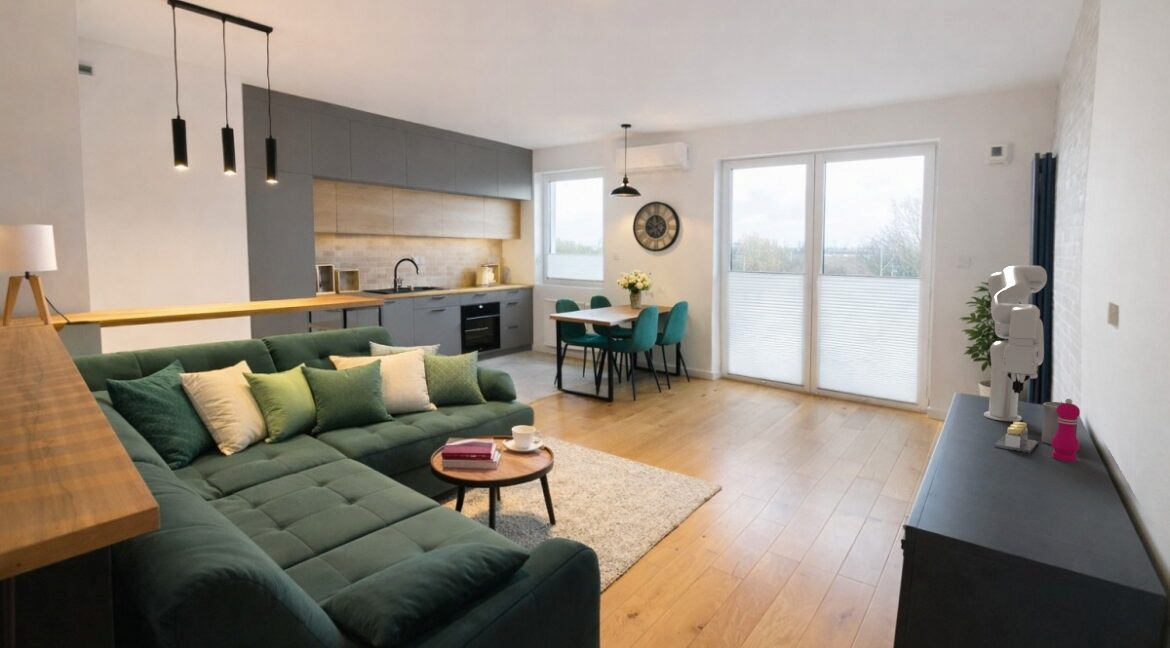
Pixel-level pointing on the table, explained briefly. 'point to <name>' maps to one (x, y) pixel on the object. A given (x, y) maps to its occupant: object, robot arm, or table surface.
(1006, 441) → the mount plate
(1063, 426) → the pepper mill
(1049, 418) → the pillar candle
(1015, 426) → the knob
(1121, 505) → the table surface
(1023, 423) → the knob
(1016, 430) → the knob
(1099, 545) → the table surface
